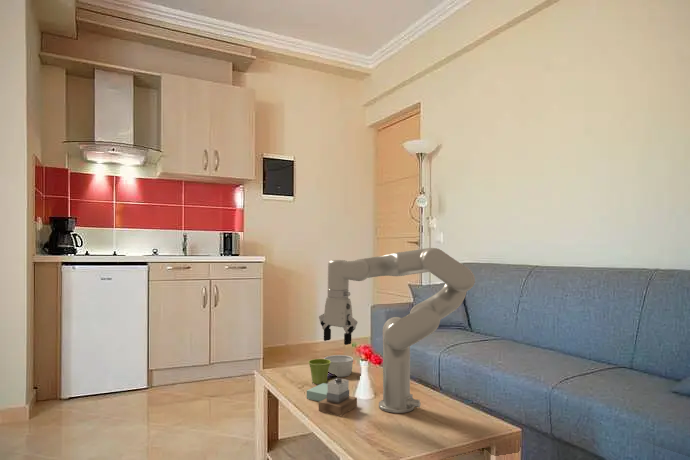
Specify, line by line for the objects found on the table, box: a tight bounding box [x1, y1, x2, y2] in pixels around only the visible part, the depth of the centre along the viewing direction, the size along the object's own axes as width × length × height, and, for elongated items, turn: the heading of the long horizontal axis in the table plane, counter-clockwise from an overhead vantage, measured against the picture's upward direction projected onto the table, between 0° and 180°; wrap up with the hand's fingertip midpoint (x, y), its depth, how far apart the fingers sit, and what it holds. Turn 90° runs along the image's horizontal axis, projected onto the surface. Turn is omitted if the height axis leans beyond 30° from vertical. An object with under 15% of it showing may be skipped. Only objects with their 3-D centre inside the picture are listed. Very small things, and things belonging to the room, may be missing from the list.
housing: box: [327, 377, 350, 404], centre depth 163 cm, size 5×7×7 cm
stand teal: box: [306, 383, 328, 402], centre depth 175 cm, size 9×11×3 cm
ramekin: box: [323, 354, 354, 378], centre depth 206 cm, size 13×13×7 cm
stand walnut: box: [318, 395, 358, 417], centre depth 162 cm, size 9×11×3 cm
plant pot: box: [308, 358, 331, 385], centre depth 193 cm, size 9×9×9 cm
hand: (337, 342), depth 165 cm, fingers open, 9 cm apart
